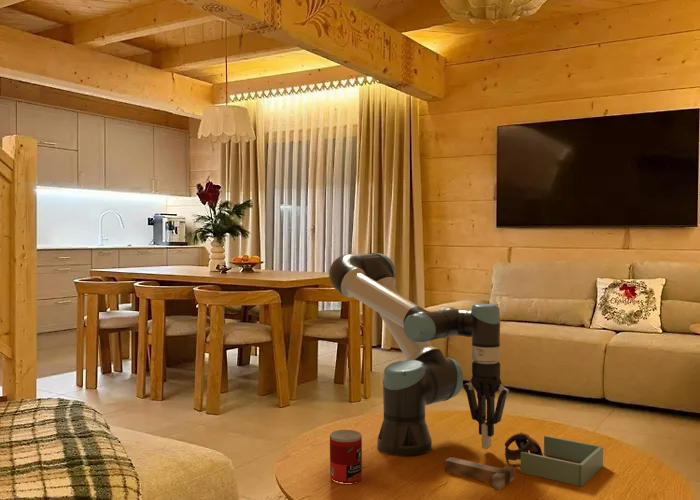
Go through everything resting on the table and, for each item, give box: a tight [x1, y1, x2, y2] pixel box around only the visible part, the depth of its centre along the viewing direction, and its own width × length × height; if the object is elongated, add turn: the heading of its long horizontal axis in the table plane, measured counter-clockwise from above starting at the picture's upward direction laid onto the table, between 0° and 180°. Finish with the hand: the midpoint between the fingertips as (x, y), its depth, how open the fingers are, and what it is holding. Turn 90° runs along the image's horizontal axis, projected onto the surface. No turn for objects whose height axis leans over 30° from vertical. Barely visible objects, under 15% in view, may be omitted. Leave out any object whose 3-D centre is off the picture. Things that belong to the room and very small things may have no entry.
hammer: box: [444, 456, 515, 490], centre depth 160 cm, size 16×8×3 cm, turn 53°
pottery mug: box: [504, 432, 544, 462], centre depth 171 cm, size 12×10×8 cm
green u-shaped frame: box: [520, 435, 604, 487], centre depth 164 cm, size 15×17×5 cm
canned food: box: [329, 429, 363, 484], centre depth 159 cm, size 8×8×11 cm
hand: (486, 447), depth 177 cm, fingers closed
